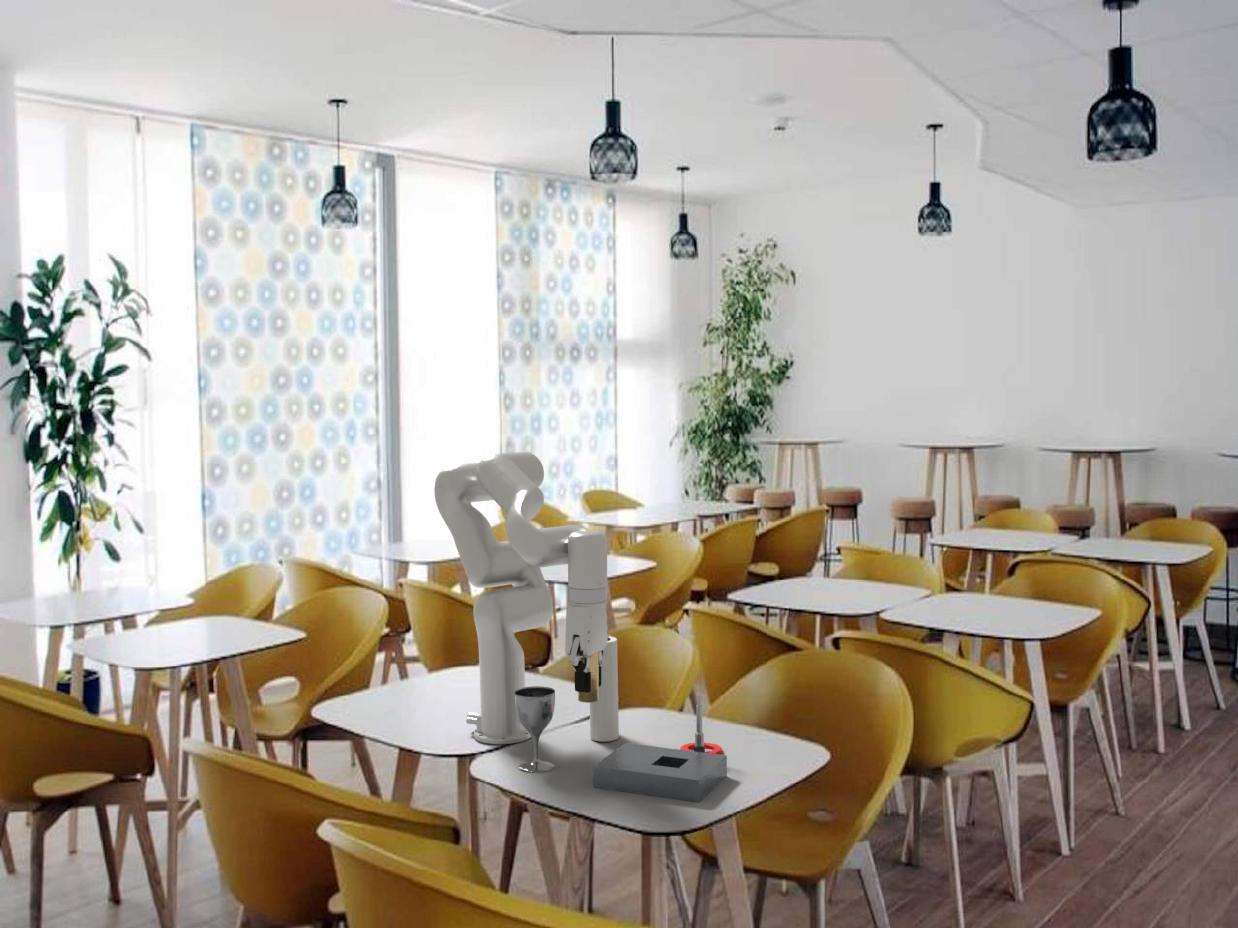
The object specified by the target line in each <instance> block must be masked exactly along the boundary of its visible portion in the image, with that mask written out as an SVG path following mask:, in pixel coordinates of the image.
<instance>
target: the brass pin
mask: <svg viewBox="0 0 1238 928" xmlns="http://www.w3.org/2000/svg"><path fill="white" fill-rule="evenodd" d="M579 655H583V652H580V653H579ZM580 660H582V661H583V663H584V661H585V659H580ZM589 672H591V692H589V693H585V692H577V701H578V702H580V703H589V704H590V703H591V702H596V701H598V700H599V658H598V652H597V653H595V654H593V655H591V656H590V662H589Z"/></svg>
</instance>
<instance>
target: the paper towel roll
mask: <svg viewBox="0 0 1238 928" xmlns="http://www.w3.org/2000/svg"><path fill="white" fill-rule="evenodd" d="M618 665H619V664H618V639H617V637H616V636H613V635H610V634H609V633H608V637H607V645H606V647H605V649H604V651H603V655H602V665H601V686H599V700H598V701H596V702H591V703H589V726H590V727H589V731H590V732H589V734H590V735H589V737H590V740H592V741H596V742H600V743H601V742H603V743H605V742H613V741H616V740H618V739H619V736H620V735H619V733H620V732H619V731H620V730H619V729H620V728H619V721H620V720H619V677H618V676H619V673H618V672H619V670H618V667H619V666H618ZM599 666H600V665H599Z"/></svg>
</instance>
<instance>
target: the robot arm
mask: <svg viewBox="0 0 1238 928" xmlns="http://www.w3.org/2000/svg"><path fill="white" fill-rule="evenodd" d="M544 477H545V470H544V466H543V463H542V461H541V459H540V458H539V457H538V456H536V455H535V454H533V453H531V452H529V451H516V452H515V451H513V452H500V453H499V452H498V453H493V454H489V455H487V456H485V457H484V458H483V459H481V460H480V462H471V463H469V462H468V463H459V464H453V465H450V466H447V467H445V468H444V469H442V470H440V471H439V473H438V474H437V476H436V478H435V481H434V499H435V504H436V506H437V510H438V512H439V514H440V516H441V518H442V520H443V521H444V523H445V525H446V526H447V528H448V530H449V531H450V533H451V536H452V538H453V541H454V544H455V548H456V550H457V553H458V555H459V558H460V561H461V564H462V567H463V569H464V573H465V575H466V577H467V580H468V581H469V583H470V584H471V585H472V586H473V587H475V588H480V589H486V588H487V589H488V588H494V589H492V590H489V591H486V592H483V593H482V594H480V595H478V597H477V598H476V599H475V601H474V604H473V610H472V614H473V620H474V621H473V622H474V625H475V628H476V629H475V631H476V634H477V635H476V636H477V643H478V644H477V645H478V661H479V663H478V664H479V690H480V691H479V693H480V713H477V712H470V711H469V712H468V713H467V715H466V724H469V725H475V726H476V729H475V730H474V732H473V737H474V739H475V740H476V741H478V742H480V743H484V744H489V745H490V744H491V745H507V744H509V745H510V744H516V743H521V742H524V741H527V740H529V739H532V737H531V735H530V733H529V732H528V731H527V730H526V729H525V728H524V726H523V725H522V724H521V723H520V722H519V720H518V717H517V713H516V708H515V694H514V693H515V691H516V690H517V689H520V688H524V687H526V681H525V680H526V679H525V678H526V677H525V673H526V672H525V653H524V650H523V648H522V646H521V644H520V642H519V641H518V640H517V638H516V636H515V633H517V632H522V631H523V632H524V631H528V630H533V629H538V628H541V627H544V626H546V625H547V624H549V622H550V621H551V619H552V617H553V613H554V611H553V610H554V607H553V606H554V605H553V601H552V597H551V594H550V591H549V588H548V585H547V582H546V580H545V577H544V574H543V572H542V570H541V568H548V567H554V566H560V565H561V566H562V565H563V566H564V565H567V576H568V577H567V583H568V584H567V591H568V593H567V599H568V601H567V602H568V607H567V612H566V620H565V634H564V635H565V636H564V637H565V639H564V653H565V655H566V656H569V658H568V659H569V660H568V662H569V663H570V664H571V665H572V666H573V668H572V669H573V671H574V691H575V692H576V693H578V692H585V693H589V692H591V672H589V662H590V656H591V655H593V654H595V653H597V652H598V658H599V665H600V666H599V686H601V665H602V655H603V651H604V649H605V647H606V645H607V637H609V633H608V614H607V613H608V612H607V604H608V538H607V536H606V534H605V533H603V531H600V530H589V529H588V528H586V527H585V526H584V527H583V526H581V525H576V524H570V525H562V526H561V525H560V526H550V527H542V528H536V527H535V526H534V525H533V524H532V523H531V522H530V521H531V520H533V519H534V518H535V517H536V516H537V515H538V514H539V513H540V512H541V510H542V508H543V506H544V502H545V501H544V500H545V497H544V493H543V491H542V490H541V488H540V487H541V485H542V484H543V481H544ZM488 501H495V502H496V504H497V505H498V506H499V507H500V508H501V509H502V511H503V512H504V513H505V514H506V518H505V530H506V531H505V532H506V535H507V539H508V540H504V541H501V540H500V541H499V540H498V539H497V538H496V536H495V534H494V532H493V529H492V526H491V524H490V522H489V521H488V519H487V518H486V516H485V515H484V514H483V513H482V512H481V511H480V510H479V509H477V508H476V507H474V506H473V505H472V503H475V502H476V503H477V502H488ZM507 585H508V586H509V585H512V586H510V587H503V588H497V589H495V587H501V586H507ZM580 652H583V655H579V653H580ZM580 659H585V661H584V663H583V661H582V660H580Z"/></svg>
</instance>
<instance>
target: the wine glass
mask: <svg viewBox="0 0 1238 928" xmlns="http://www.w3.org/2000/svg"><path fill="white" fill-rule="evenodd" d="M514 694H515V708H516V713H517V717H518V720H519V722H520V723H521V724H522V725H523V726H524V728H525V729H526V730H527V731H528V732H529V733H530V735H531V741H532V745H533V755H534V757H533V760H529V761H528V760H527V761H525V763H524V762H522V763H520V764H519V765H518V767H522V768H523V769H524V770H527V771H529V772H528V773H530V772H531V771H532V772H538V774H539V773H544V772H549V771H551V770H553V769H554V768H555V764H554V763H553V762H551V761H547V760H540V759H539V743H540V738H541V735H542V733H543V732H544V730H545V729H546V728H547V727H548V726H549V724H550V723H551V721H552V720H553V717H554V714H555V707H556V690H555V689H554V688H552V687H549V686H541V685H540V686H539V685H537V686H536V685H535V686H534V685H533V686H525V687H524V688H520V689H517V690H516V691H515V693H514ZM518 767H517V768H518Z"/></svg>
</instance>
